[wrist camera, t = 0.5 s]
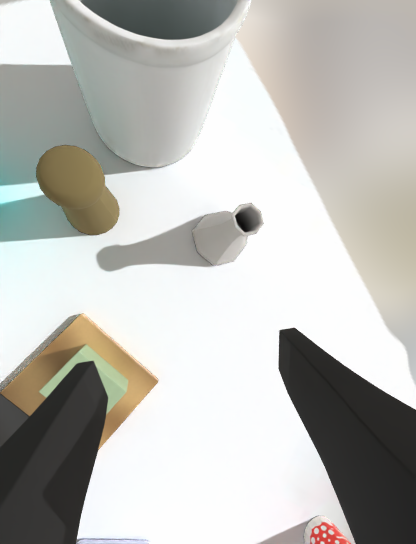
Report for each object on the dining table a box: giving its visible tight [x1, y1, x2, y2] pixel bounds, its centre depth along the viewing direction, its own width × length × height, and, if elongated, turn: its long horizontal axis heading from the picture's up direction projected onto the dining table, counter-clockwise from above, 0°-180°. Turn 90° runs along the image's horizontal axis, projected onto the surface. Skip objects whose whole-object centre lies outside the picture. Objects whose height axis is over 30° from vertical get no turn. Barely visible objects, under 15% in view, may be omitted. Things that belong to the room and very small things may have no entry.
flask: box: [192, 203, 264, 266], centre depth 30 cm, size 7×7×10 cm
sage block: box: [39, 344, 128, 414], centre depth 27 cm, size 5×6×4 cm
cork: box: [36, 145, 119, 235], centre depth 26 cm, size 6×6×11 cm
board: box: [0, 313, 158, 450], centre depth 28 cm, size 20×12×1 cm, turn 137°
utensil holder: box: [50, 0, 252, 167], centre depth 25 cm, size 15×15×18 cm
